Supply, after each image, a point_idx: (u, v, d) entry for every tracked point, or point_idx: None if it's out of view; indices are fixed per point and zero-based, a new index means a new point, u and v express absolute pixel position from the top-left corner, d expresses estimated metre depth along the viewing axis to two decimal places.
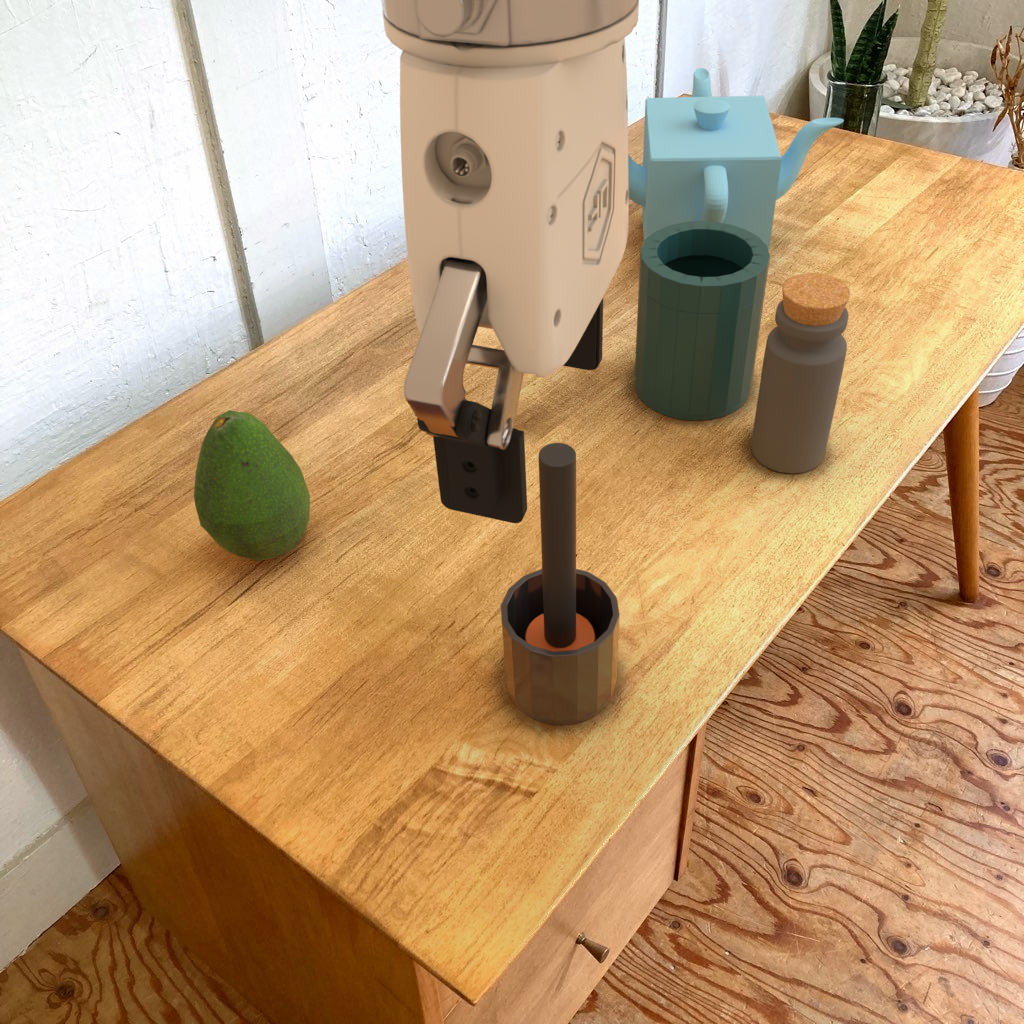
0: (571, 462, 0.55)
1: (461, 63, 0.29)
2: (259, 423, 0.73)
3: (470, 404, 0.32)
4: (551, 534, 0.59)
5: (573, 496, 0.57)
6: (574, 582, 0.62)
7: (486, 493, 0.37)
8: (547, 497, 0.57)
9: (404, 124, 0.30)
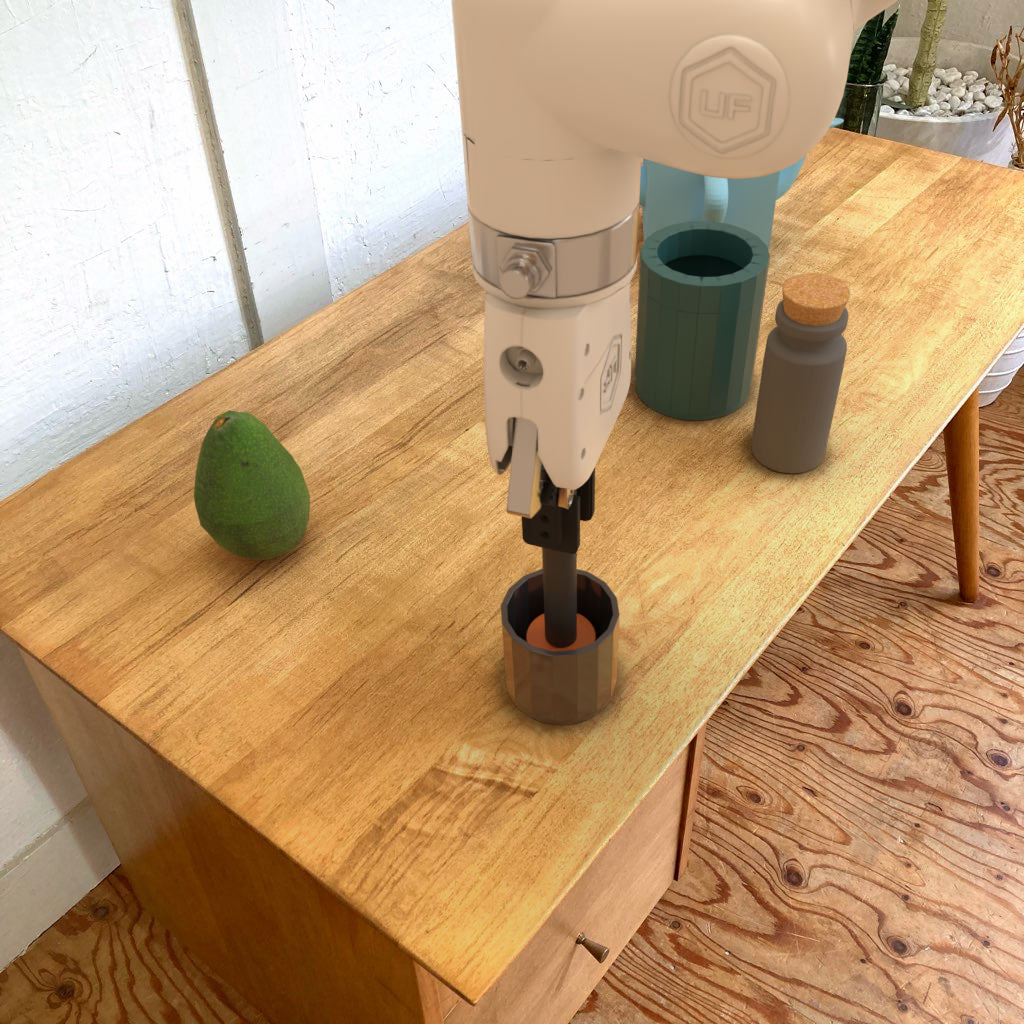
0: None
1: (525, 304, 0.46)
2: (259, 423, 0.73)
3: (550, 483, 0.53)
4: None
5: None
6: (575, 582, 0.62)
7: (554, 535, 0.57)
8: None
9: (487, 338, 0.47)
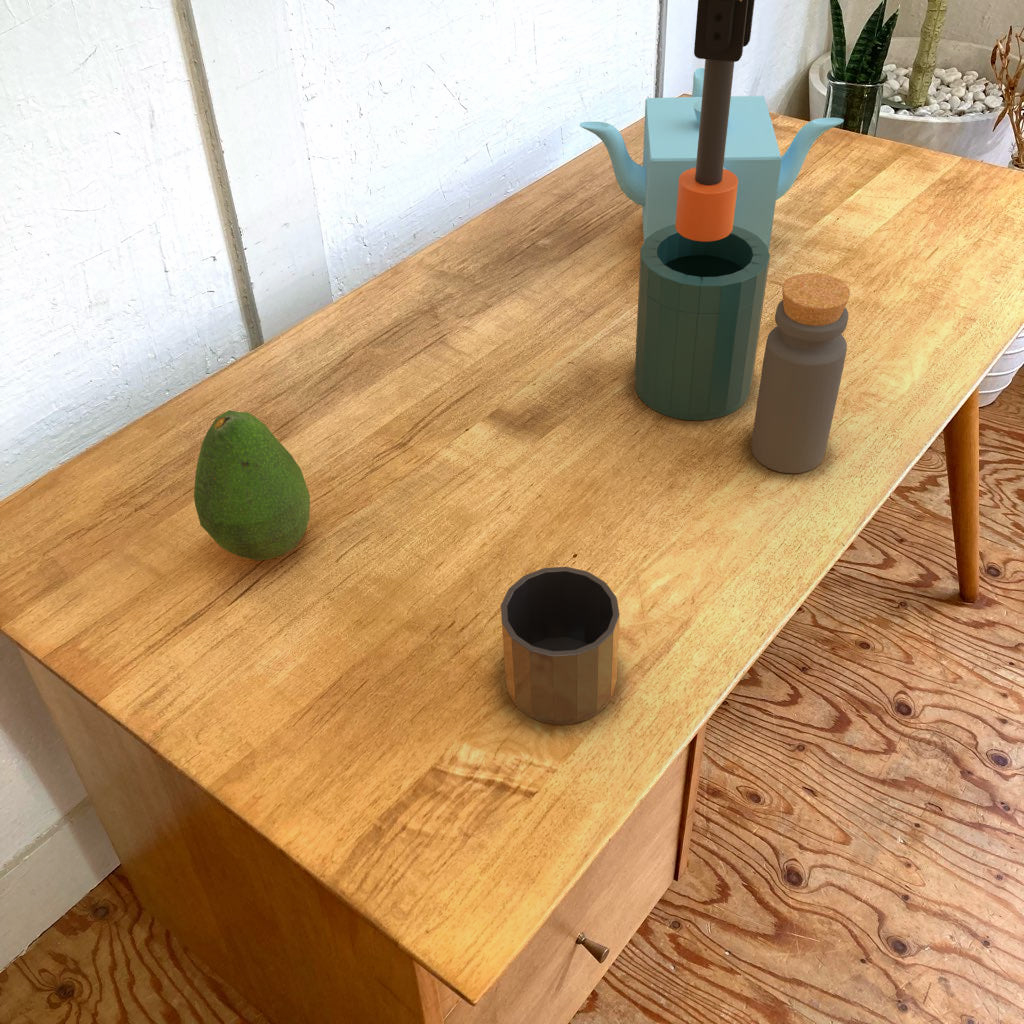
0: None
1: None
2: (259, 423, 0.73)
3: None
4: None
5: None
6: (728, 110, 0.75)
7: (725, 35, 0.69)
8: None
9: None
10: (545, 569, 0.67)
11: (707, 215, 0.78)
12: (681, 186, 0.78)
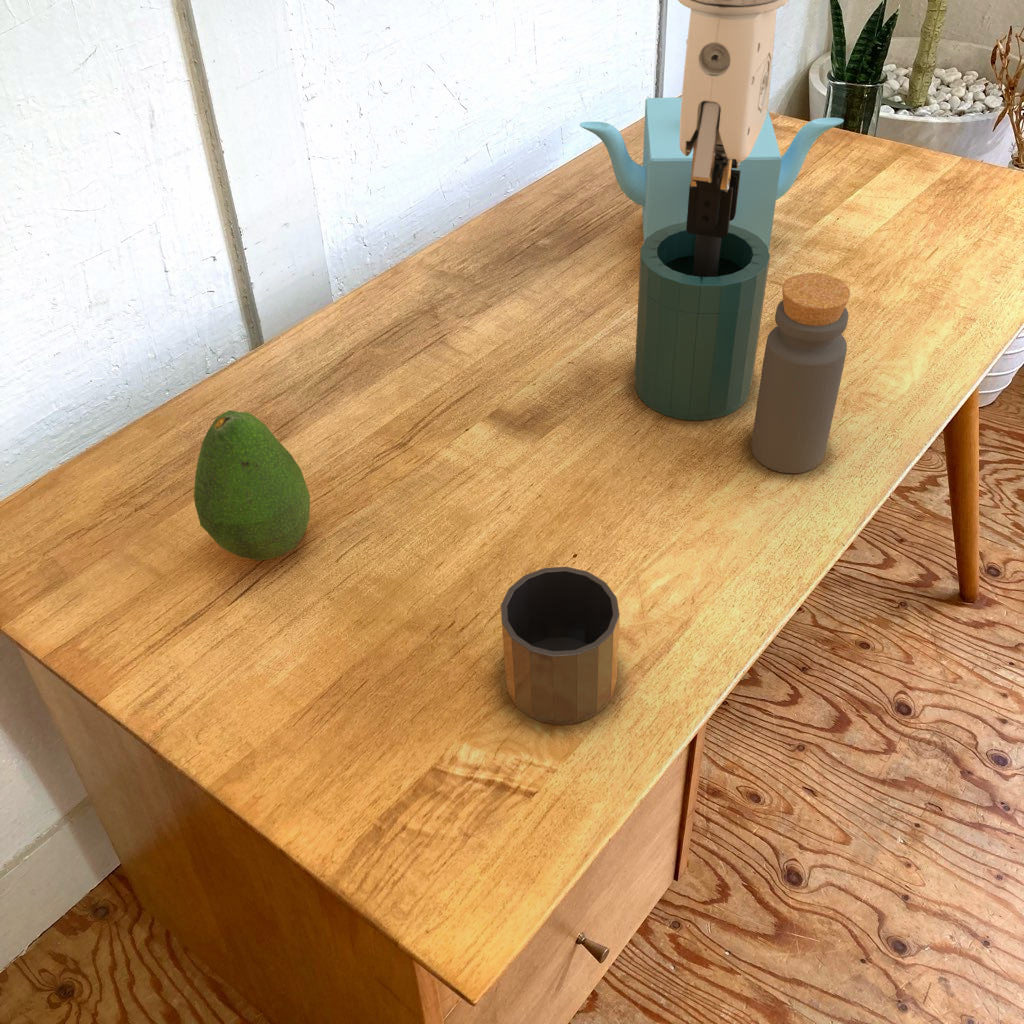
0: None
1: (719, 13, 0.69)
2: (259, 423, 0.73)
3: (718, 165, 0.76)
4: None
5: None
6: (717, 272, 0.85)
7: (713, 218, 0.80)
8: None
9: (691, 40, 0.70)
10: (545, 569, 0.67)
11: None
12: None
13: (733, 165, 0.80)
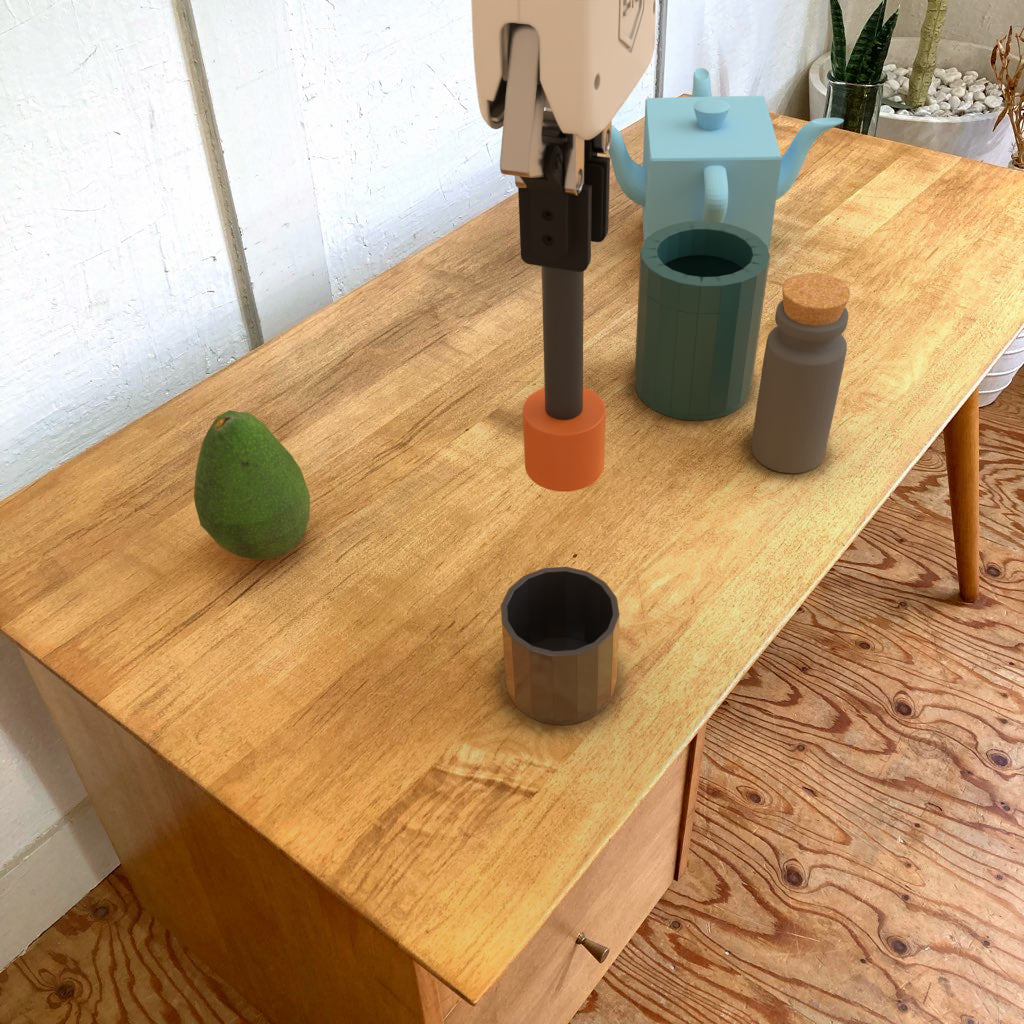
0: None
1: None
2: (259, 423, 0.73)
3: (554, 146, 0.42)
4: None
5: None
6: (581, 326, 0.52)
7: (560, 239, 0.46)
8: None
9: None
10: (545, 569, 0.67)
11: (561, 461, 0.55)
12: (525, 420, 0.55)
13: (597, 148, 0.47)
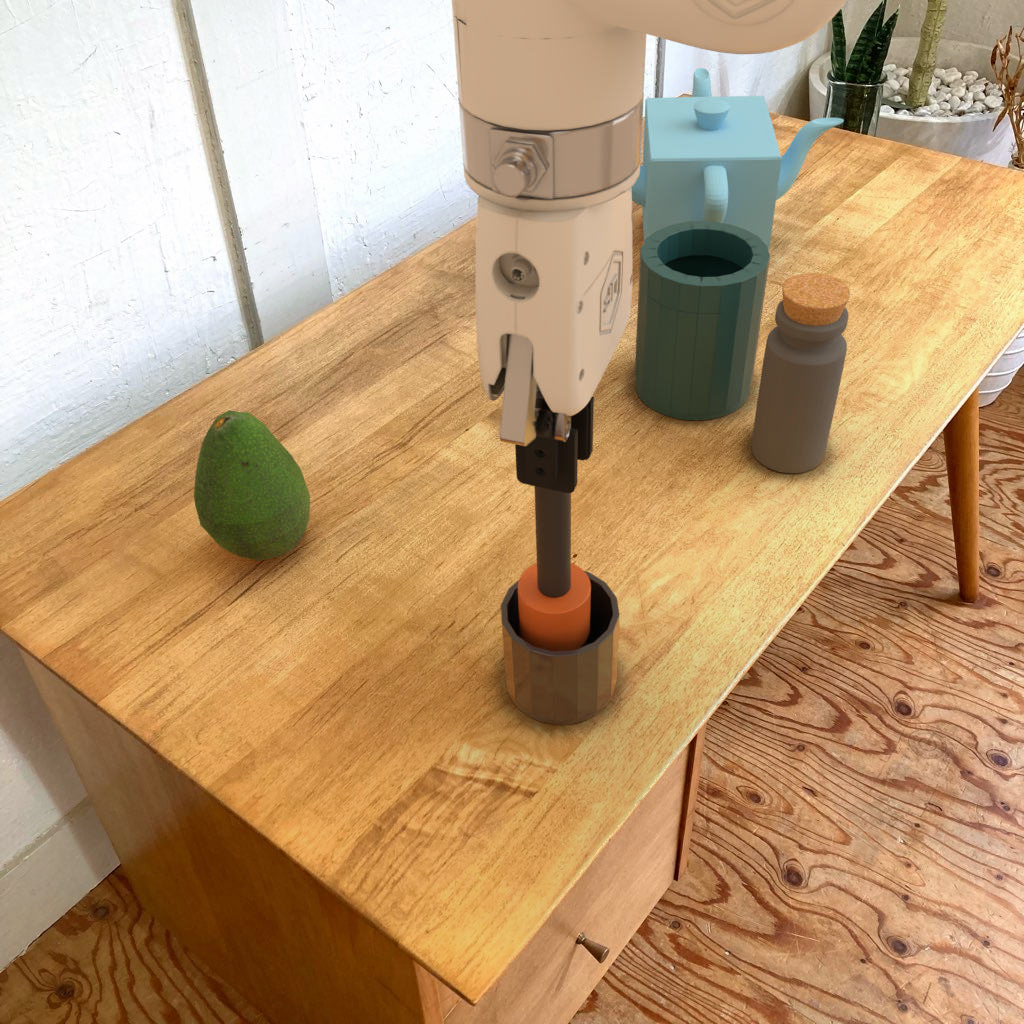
0: None
1: (520, 207, 0.42)
2: (259, 423, 0.73)
3: (546, 411, 0.49)
4: None
5: None
6: (569, 526, 0.59)
7: (550, 471, 0.53)
8: None
9: (479, 245, 0.43)
10: None
11: (552, 633, 0.63)
12: (520, 596, 0.63)
13: None
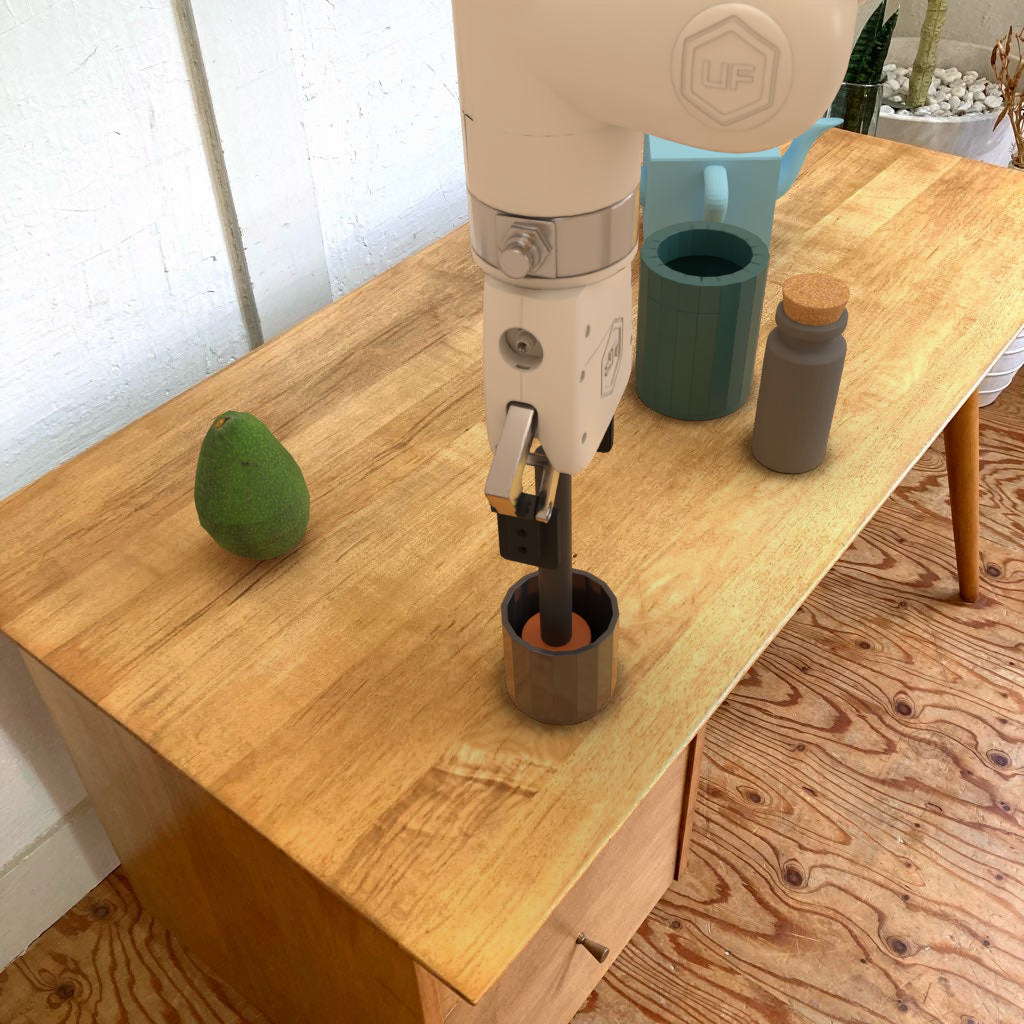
0: None
1: (524, 285, 0.45)
2: (259, 423, 0.73)
3: (526, 496, 0.49)
4: None
5: (569, 495, 0.57)
6: (570, 581, 0.62)
7: (533, 550, 0.53)
8: None
9: (486, 320, 0.46)
10: None
11: None
12: None
13: None
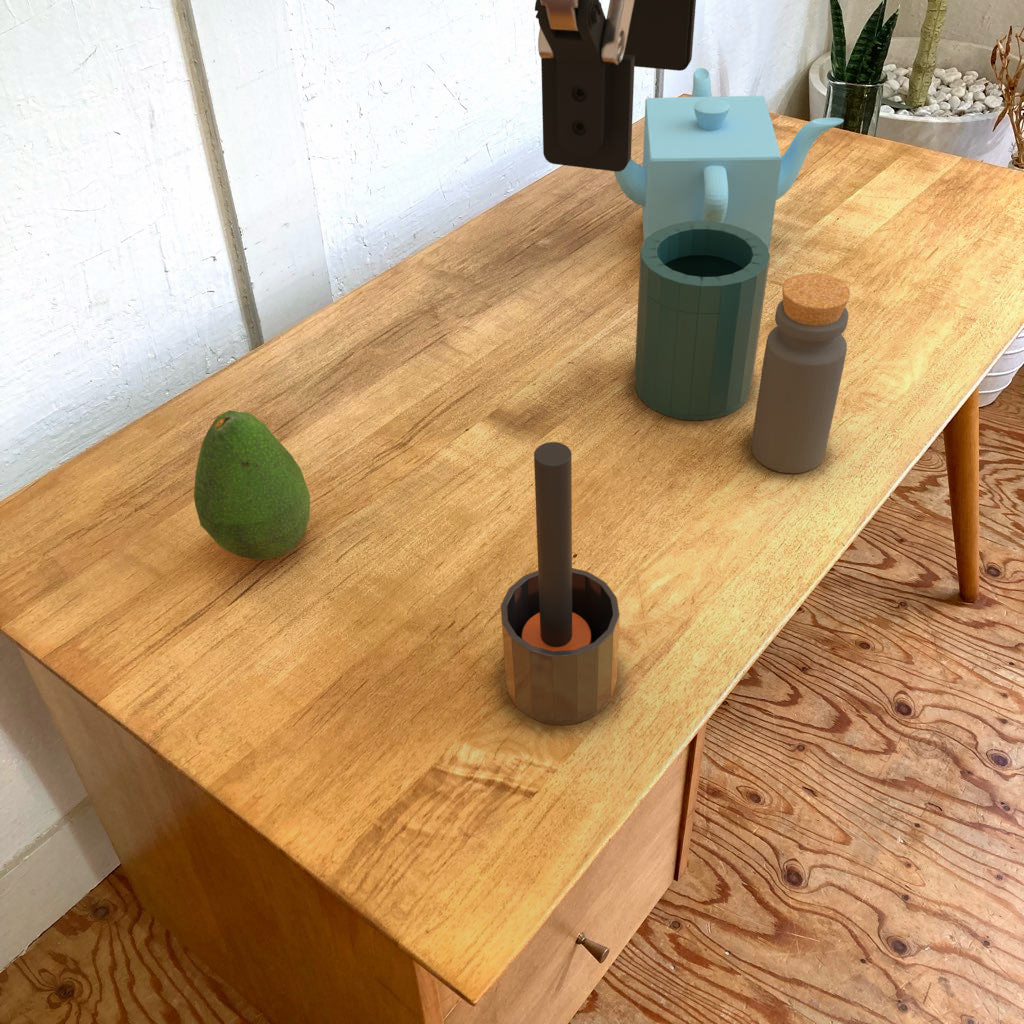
0: (566, 461, 0.55)
1: None
2: (259, 423, 0.73)
3: None
4: (546, 533, 0.59)
5: (569, 495, 0.57)
6: (570, 581, 0.62)
7: (594, 126, 0.37)
8: (542, 496, 0.57)
9: None
10: None
11: None
12: None
13: None
